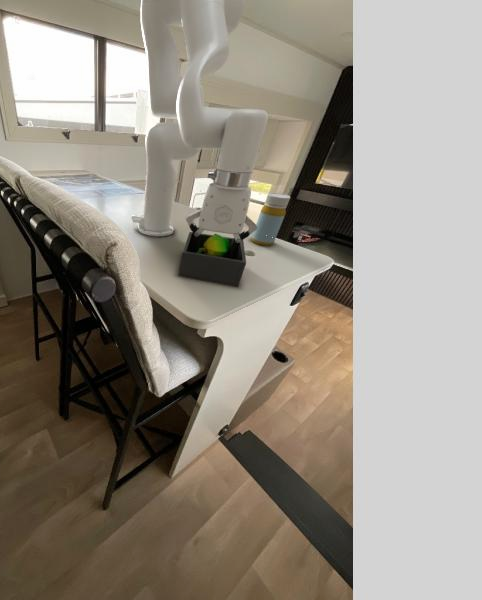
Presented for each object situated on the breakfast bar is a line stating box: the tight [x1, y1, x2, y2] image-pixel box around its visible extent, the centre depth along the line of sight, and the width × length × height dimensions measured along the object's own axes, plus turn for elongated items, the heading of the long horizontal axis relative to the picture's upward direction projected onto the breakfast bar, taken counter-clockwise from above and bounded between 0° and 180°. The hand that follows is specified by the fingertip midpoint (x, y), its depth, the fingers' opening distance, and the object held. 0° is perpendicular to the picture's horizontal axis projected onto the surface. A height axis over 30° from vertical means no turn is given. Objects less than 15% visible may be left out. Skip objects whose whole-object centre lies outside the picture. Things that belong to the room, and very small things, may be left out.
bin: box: [177, 231, 247, 288], centre depth 66 cm, size 15×15×7 cm
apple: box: [196, 233, 230, 257], centre depth 65 cm, size 7×6×9 cm
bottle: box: [251, 192, 291, 247], centre depth 80 cm, size 7×7×15 cm
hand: (213, 252), depth 65 cm, fingers closed on apple, 8 cm apart
